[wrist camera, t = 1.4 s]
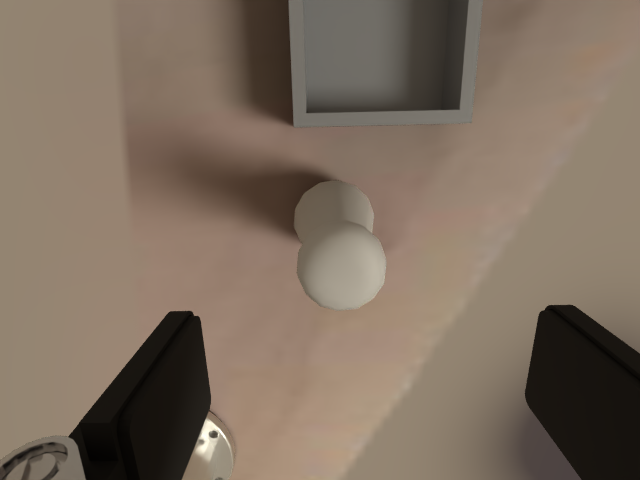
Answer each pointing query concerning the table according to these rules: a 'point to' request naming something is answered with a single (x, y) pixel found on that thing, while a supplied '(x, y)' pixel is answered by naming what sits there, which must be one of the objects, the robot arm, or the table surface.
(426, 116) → the tray
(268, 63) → the table surface
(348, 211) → the salt shaker
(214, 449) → the robot arm
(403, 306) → the table surface
